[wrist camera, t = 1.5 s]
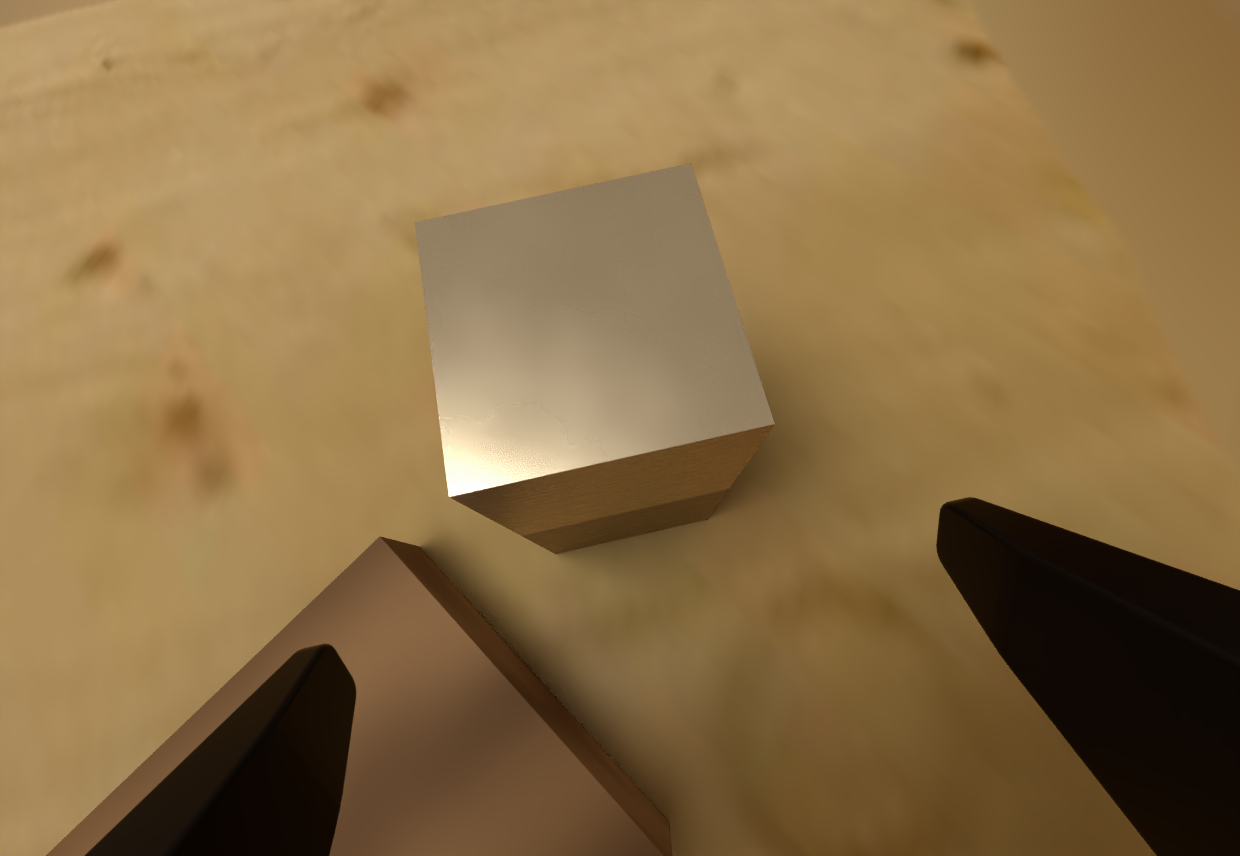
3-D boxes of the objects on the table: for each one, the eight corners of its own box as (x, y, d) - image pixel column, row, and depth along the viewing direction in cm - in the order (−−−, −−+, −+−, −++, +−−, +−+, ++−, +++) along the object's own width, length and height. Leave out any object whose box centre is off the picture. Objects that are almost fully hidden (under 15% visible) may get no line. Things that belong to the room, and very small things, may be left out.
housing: (707, 519, 20) (774, 424, 9) (555, 553, 20) (449, 496, 9) (670, 378, 21) (691, 163, 11) (529, 409, 21) (415, 222, 11)
